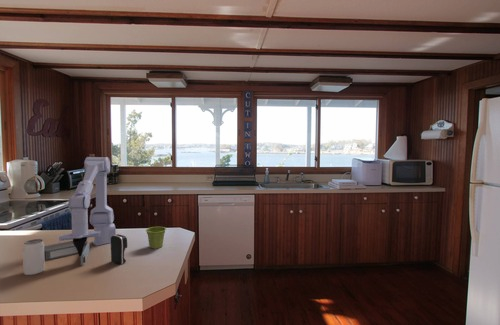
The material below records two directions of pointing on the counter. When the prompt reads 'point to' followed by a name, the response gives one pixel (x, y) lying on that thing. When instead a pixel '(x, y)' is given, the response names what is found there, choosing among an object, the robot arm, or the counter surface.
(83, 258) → the grey bar handle
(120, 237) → the battery charger
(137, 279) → the counter surface
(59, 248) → the grey rectangular box
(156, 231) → the plant pot
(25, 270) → the can
